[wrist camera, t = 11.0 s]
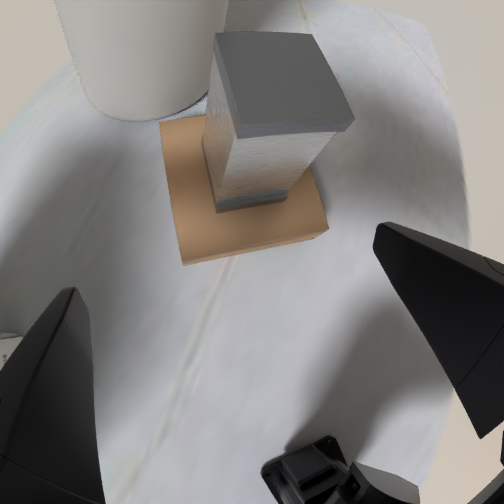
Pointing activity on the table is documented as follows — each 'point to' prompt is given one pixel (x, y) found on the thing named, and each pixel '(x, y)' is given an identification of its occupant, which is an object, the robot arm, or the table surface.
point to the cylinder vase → (142, 52)
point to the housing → (267, 115)
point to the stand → (232, 222)
